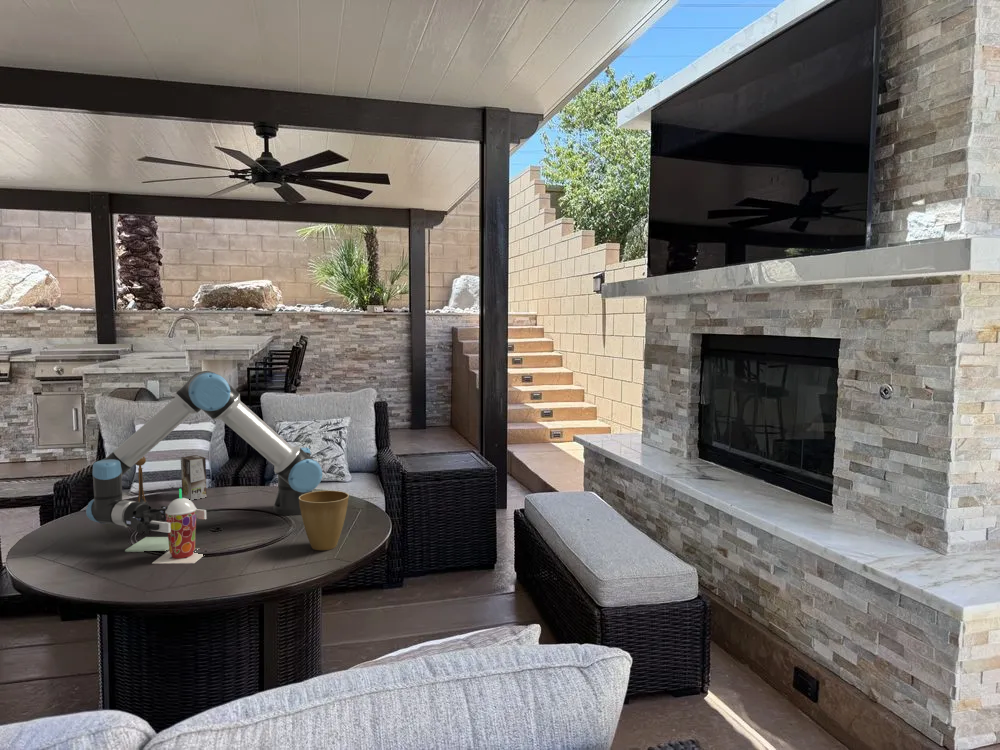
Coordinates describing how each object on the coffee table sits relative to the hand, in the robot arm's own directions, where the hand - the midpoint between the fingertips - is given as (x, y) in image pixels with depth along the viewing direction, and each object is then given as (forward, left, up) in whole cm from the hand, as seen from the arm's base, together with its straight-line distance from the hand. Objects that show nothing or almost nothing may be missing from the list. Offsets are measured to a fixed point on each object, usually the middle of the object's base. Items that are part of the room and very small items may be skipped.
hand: (188, 521), depth 193 cm
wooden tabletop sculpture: (+41, -52, -11) cm, 67 cm away
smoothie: (+2, -1, -11) cm, 11 cm away
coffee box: (+28, -68, -11) cm, 75 cm away
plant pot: (-38, -9, -11) cm, 40 cm away
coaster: (+15, -11, -11) cm, 22 cm away
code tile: (+2, -1, -11) cm, 11 cm away
